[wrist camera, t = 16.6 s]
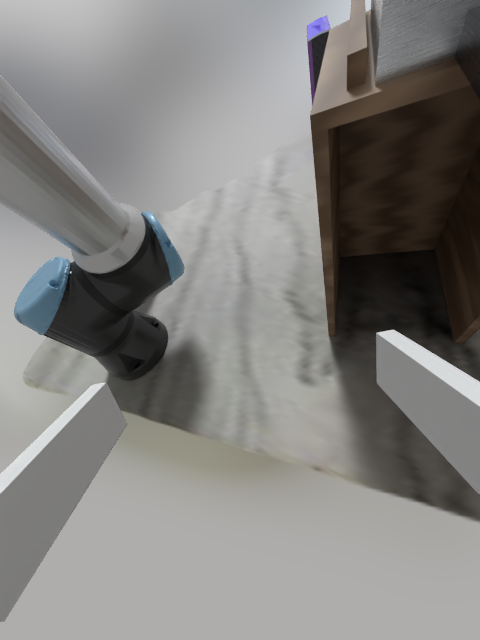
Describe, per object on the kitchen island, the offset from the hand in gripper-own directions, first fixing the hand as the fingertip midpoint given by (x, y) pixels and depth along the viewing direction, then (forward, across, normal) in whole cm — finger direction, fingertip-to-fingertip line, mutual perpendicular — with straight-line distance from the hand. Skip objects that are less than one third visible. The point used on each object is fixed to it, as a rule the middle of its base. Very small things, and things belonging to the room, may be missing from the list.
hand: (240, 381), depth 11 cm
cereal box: (+77, -32, -28) cm, 88 cm away
